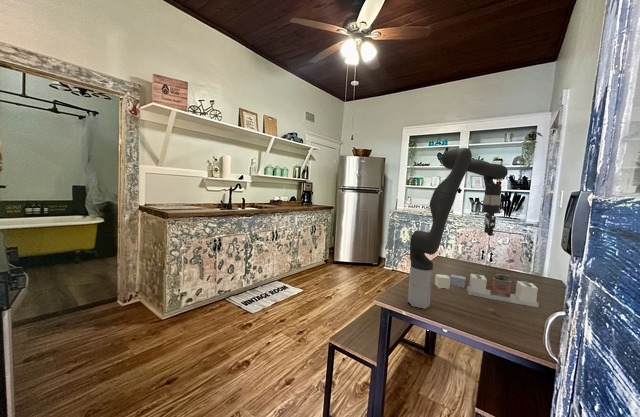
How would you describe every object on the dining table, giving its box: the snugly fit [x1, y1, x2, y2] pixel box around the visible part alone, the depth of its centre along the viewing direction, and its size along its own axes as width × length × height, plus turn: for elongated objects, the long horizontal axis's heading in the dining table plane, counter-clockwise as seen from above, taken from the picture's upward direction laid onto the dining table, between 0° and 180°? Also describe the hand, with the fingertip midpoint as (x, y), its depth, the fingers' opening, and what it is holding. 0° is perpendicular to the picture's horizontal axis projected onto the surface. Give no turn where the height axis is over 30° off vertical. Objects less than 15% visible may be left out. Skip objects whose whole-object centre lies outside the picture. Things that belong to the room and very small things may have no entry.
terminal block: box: [450, 274, 466, 289], centre depth 139 cm, size 4×7×5 cm, turn 57°
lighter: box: [490, 273, 513, 297], centre depth 124 cm, size 8×3×10 cm, turn 64°
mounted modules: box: [468, 273, 539, 303], centre depth 124 cm, size 7×26×8 cm, turn 67°
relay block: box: [434, 273, 451, 290], centre depth 136 cm, size 5×6×6 cm
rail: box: [466, 285, 540, 308], centre depth 125 cm, size 7×28×2 cm, turn 67°
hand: (488, 234), depth 134 cm, fingers open, 8 cm apart
